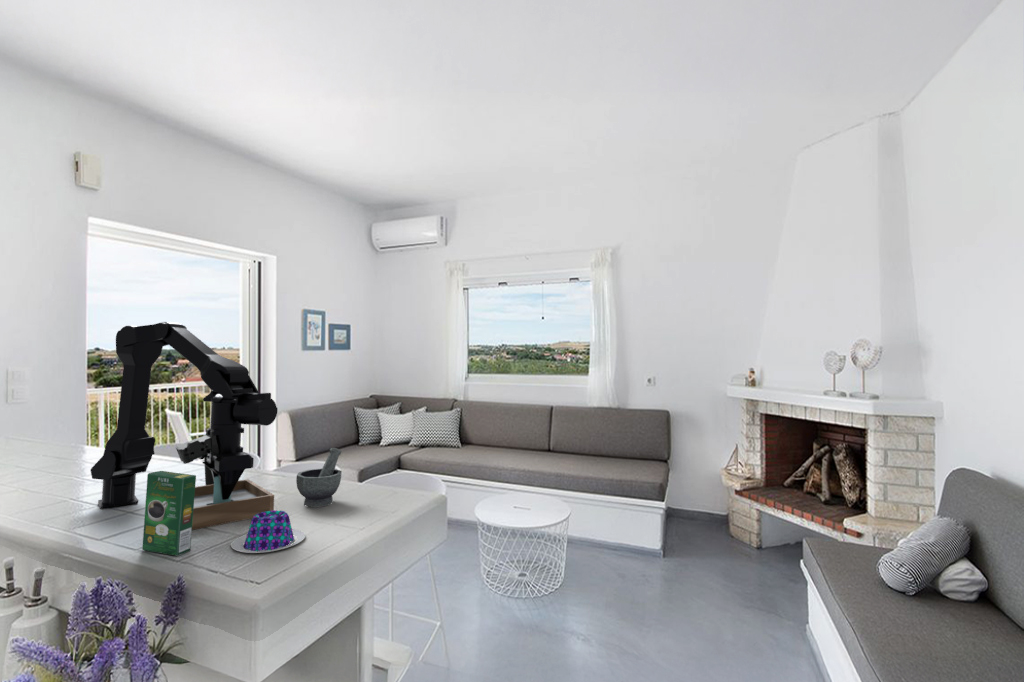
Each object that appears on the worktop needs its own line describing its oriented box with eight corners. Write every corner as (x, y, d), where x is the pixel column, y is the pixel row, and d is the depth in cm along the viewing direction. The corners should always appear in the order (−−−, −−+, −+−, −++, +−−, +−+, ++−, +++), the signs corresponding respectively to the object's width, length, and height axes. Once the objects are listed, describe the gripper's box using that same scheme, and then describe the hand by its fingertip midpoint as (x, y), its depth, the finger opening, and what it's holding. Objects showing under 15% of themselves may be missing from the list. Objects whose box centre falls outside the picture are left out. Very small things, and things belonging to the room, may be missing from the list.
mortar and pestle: (318, 511, 104) (320, 456, 105) (286, 506, 107) (288, 452, 108) (353, 498, 114) (355, 448, 115) (322, 494, 118) (324, 445, 118)
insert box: (166, 509, 103) (167, 490, 104) (247, 496, 115) (248, 479, 115) (184, 531, 91) (185, 510, 91) (273, 514, 102) (274, 495, 102)
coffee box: (193, 550, 82) (197, 473, 82) (177, 557, 79) (182, 477, 80) (157, 545, 84) (161, 469, 84) (140, 551, 81) (145, 473, 82)
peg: (210, 514, 101) (212, 476, 101) (227, 511, 103) (229, 474, 104) (214, 518, 99) (216, 479, 99) (232, 515, 101) (233, 476, 101)
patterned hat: (310, 530, 93) (311, 503, 94) (297, 554, 82) (298, 523, 82) (243, 534, 91) (244, 506, 91) (219, 559, 79) (221, 527, 79)
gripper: (172, 421, 103) (168, 494, 102) (191, 431, 90) (187, 515, 89) (230, 418, 111) (226, 486, 110) (255, 427, 98) (252, 504, 97)
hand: (222, 497), depth 101 cm, fingers open, 4 cm apart
